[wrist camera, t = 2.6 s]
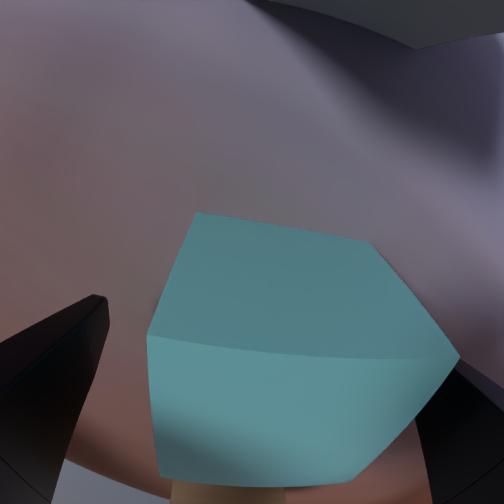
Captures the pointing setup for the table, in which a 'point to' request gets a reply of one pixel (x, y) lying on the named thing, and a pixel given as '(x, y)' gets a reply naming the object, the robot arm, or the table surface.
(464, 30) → the gray cube
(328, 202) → the table surface
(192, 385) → the teal cube
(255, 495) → the walnut cube
